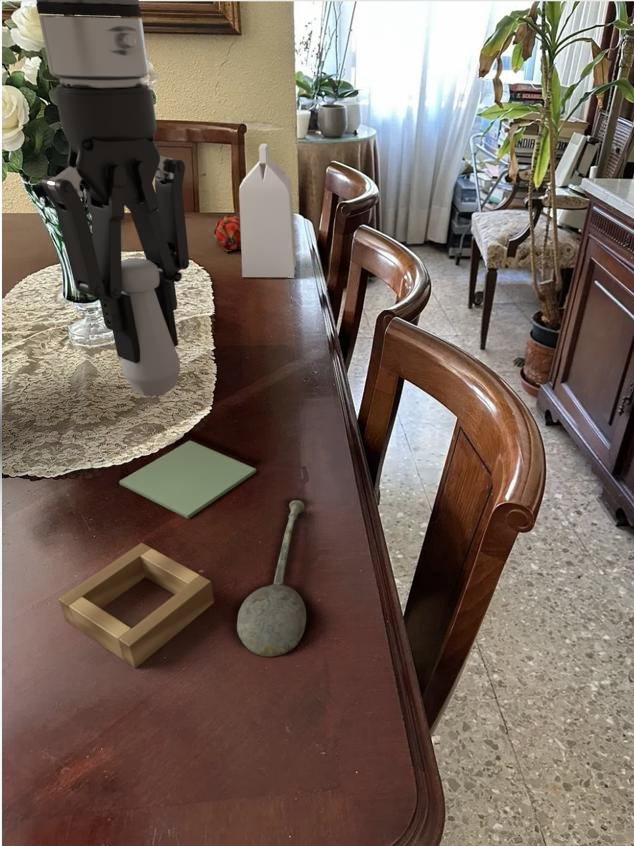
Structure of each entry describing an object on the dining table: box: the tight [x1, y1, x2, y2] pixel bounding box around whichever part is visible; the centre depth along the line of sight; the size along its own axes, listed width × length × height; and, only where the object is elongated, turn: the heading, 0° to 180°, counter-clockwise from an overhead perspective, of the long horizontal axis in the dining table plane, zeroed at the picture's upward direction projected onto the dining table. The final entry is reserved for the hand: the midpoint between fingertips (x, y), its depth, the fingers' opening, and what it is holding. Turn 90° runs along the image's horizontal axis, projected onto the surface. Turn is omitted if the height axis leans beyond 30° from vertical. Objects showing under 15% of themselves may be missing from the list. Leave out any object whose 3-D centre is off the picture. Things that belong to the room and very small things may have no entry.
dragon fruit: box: [213, 215, 241, 253], centre depth 163 cm, size 8×8×12 cm
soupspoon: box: [236, 499, 307, 658], centre depth 69 cm, size 22×3×7 cm
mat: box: [118, 440, 257, 520], centre depth 84 cm, size 12×12×1 cm
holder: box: [58, 542, 215, 669], centre depth 64 cm, size 10×10×3 cm
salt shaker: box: [121, 258, 181, 397], centre depth 65 cm, size 6×6×13 cm
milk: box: [238, 143, 297, 279], centre depth 145 cm, size 12×12×26 cm
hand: (148, 350), depth 67 cm, fingers closed on salt shaker, 4 cm apart
